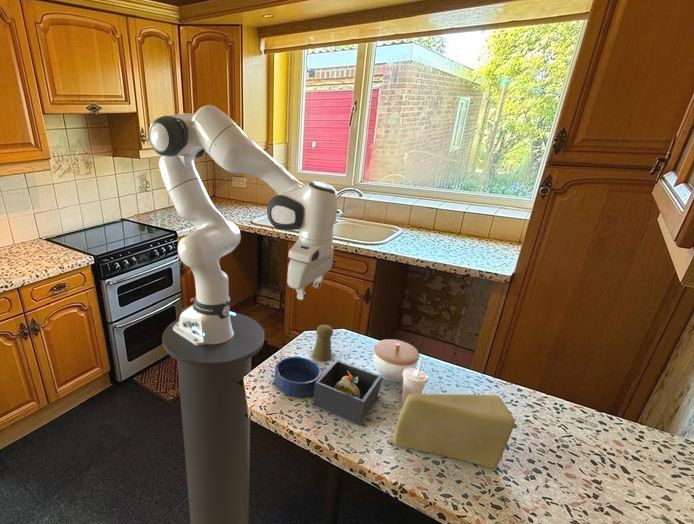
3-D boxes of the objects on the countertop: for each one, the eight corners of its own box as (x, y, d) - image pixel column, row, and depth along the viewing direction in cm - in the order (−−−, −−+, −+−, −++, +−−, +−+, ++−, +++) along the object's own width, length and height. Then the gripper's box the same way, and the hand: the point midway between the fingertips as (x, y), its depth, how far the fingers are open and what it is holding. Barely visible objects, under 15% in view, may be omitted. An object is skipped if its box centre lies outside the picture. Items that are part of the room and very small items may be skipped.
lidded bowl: (420, 375, 123) (428, 345, 118) (400, 393, 115) (407, 361, 110) (383, 358, 131) (389, 329, 126) (362, 374, 123) (367, 343, 118)
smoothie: (417, 413, 107) (428, 371, 101) (393, 403, 111) (402, 362, 105) (424, 401, 112) (434, 359, 106) (400, 392, 115) (410, 351, 109)
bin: (312, 404, 111) (315, 382, 107) (333, 380, 120) (336, 359, 117) (359, 425, 103) (364, 402, 100) (377, 397, 113) (382, 376, 110)
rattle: (370, 400, 111) (376, 367, 106) (350, 412, 107) (356, 377, 102) (349, 387, 117) (354, 354, 111) (330, 397, 112) (334, 364, 107)
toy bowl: (266, 386, 118) (267, 372, 116) (288, 365, 127) (289, 352, 125) (306, 403, 111) (307, 389, 109) (326, 380, 120) (328, 366, 118)
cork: (311, 358, 131) (314, 329, 126) (314, 349, 136) (317, 321, 131) (330, 362, 129) (333, 332, 124) (332, 352, 134) (335, 323, 129)
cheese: (396, 458, 94) (408, 409, 87) (389, 429, 102) (400, 381, 96) (498, 472, 90) (518, 421, 84) (482, 440, 99) (500, 392, 92)
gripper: (321, 234, 115) (315, 278, 121) (285, 253, 100) (280, 302, 106) (341, 239, 112) (334, 284, 118) (307, 259, 97) (301, 309, 103)
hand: (308, 292), depth 112 cm, fingers open, 8 cm apart
